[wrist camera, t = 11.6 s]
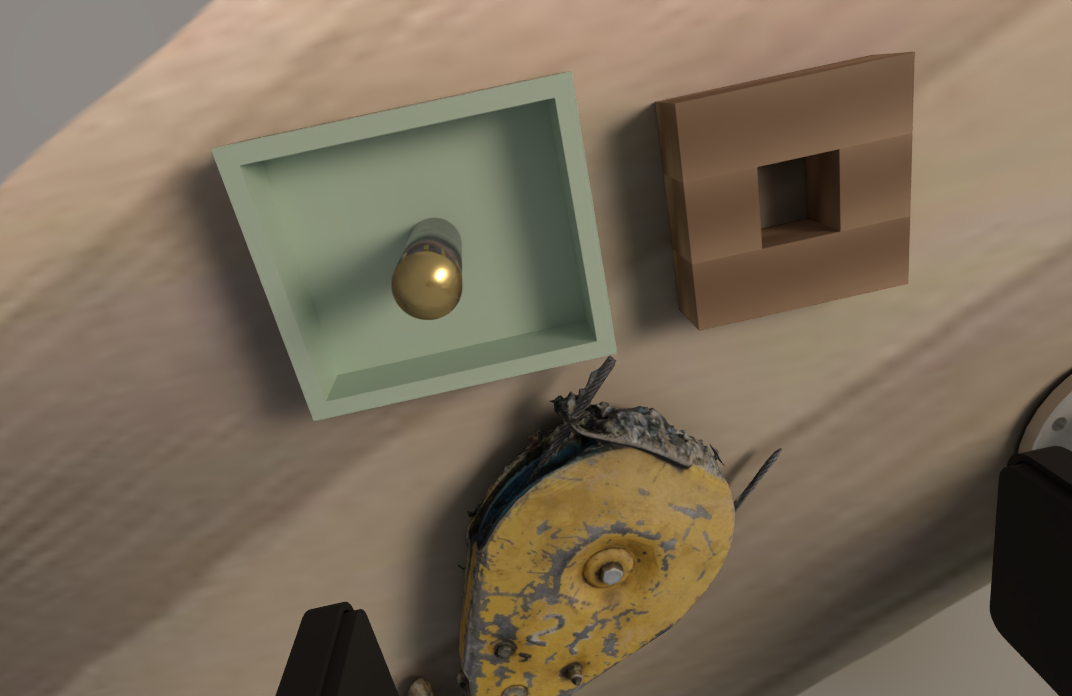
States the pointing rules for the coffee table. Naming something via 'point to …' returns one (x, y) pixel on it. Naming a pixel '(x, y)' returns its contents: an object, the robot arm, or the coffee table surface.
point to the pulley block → (588, 548)
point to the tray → (387, 221)
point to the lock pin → (429, 271)
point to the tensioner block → (832, 188)
